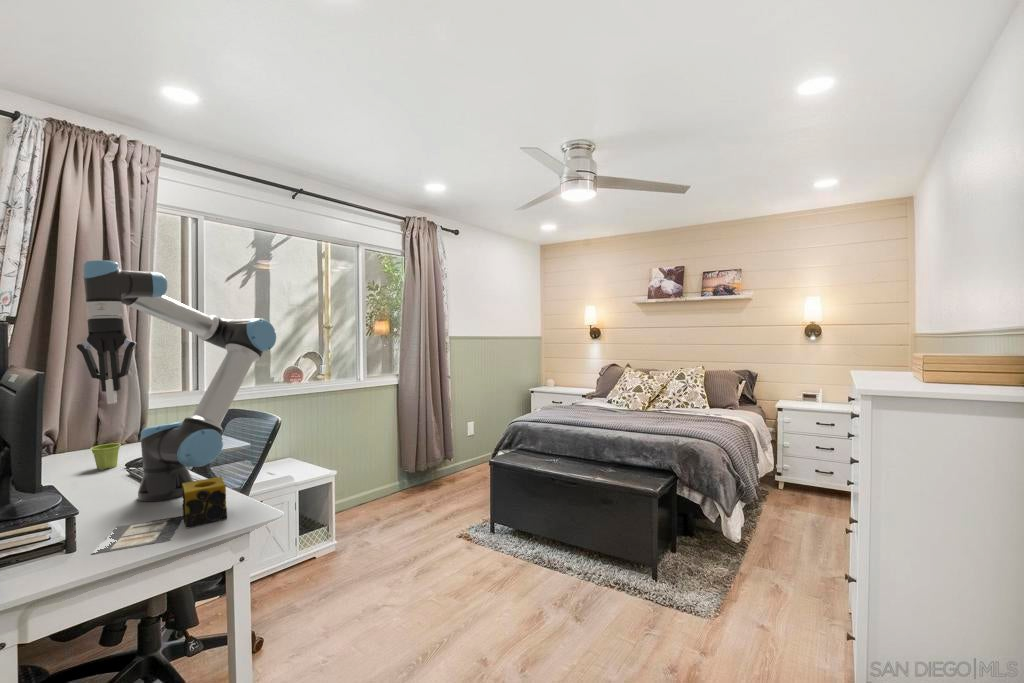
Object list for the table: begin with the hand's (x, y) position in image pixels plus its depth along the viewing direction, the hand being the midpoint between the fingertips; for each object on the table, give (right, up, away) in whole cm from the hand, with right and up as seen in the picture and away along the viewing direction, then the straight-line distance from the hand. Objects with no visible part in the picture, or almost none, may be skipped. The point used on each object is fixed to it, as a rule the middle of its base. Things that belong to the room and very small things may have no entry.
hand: (112, 402), depth 134 cm
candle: (+24, -33, +3) cm, 41 cm away
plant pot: (-52, -34, +61) cm, 87 cm away
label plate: (+12, -34, -5) cm, 37 cm away
